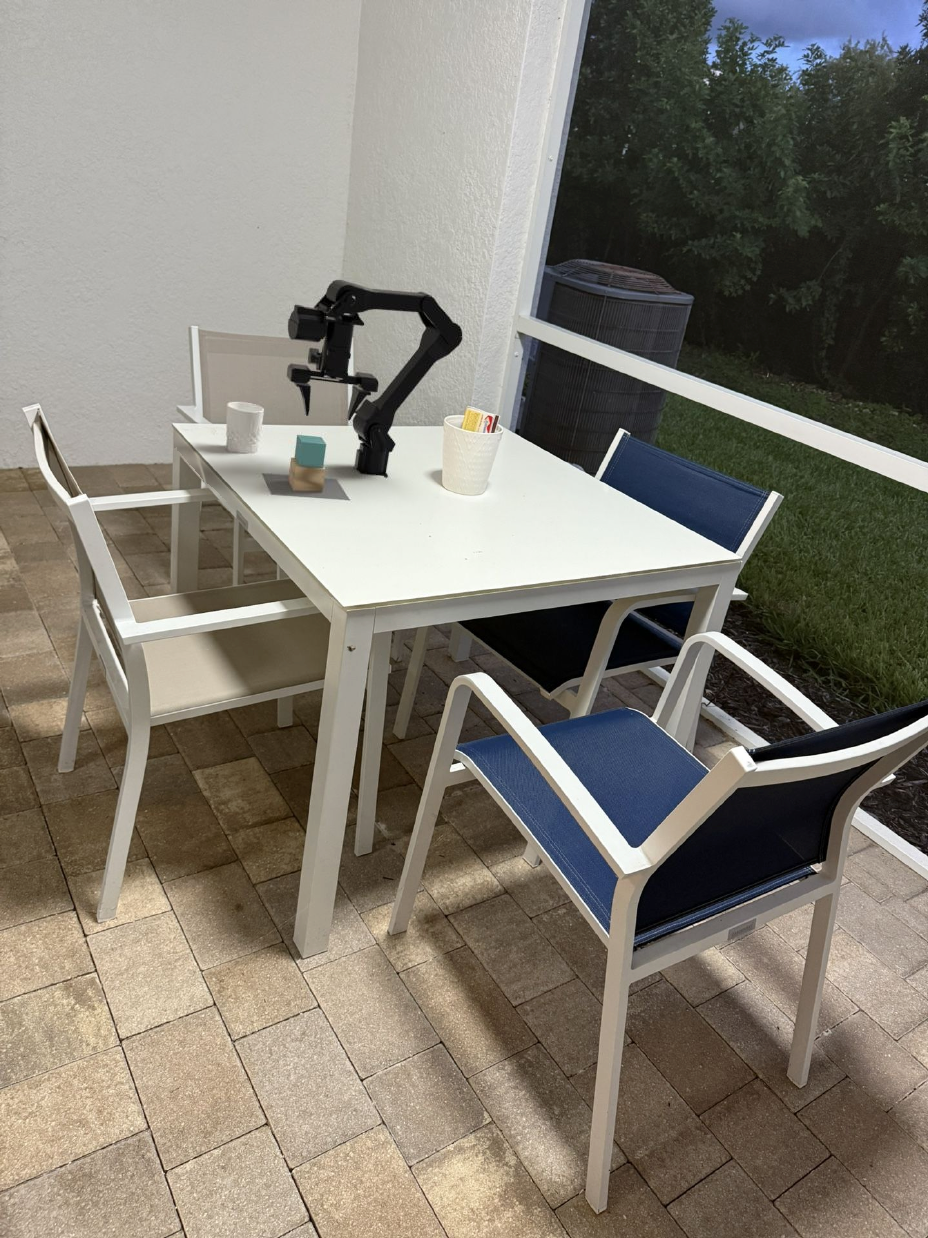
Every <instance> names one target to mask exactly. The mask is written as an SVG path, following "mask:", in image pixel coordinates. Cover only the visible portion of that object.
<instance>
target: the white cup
mask: <svg viewBox="0 0 928 1238" xmlns="http://www.w3.org/2000/svg"><path fill="white" fill-rule="evenodd" d="M226 407H227V408H226V433H225V434H226V443H225V444H226V447H225V448H226V450H227V449H228V450H227V452H230V451H231V453H238V454H239V453H241V454H251V455H252V454H254V453H256V452H257V453H258V449H259V442H260V441H261V439H260V438H261V433H262V428H263V419H264V413H265V409H264V407H262V406H260V405H258V404H255V403H250V402H245V401H232V402H231V401H230V402H228V403H227V405H226ZM257 453H256V454H257ZM254 455H255V454H254Z"/></svg>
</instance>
